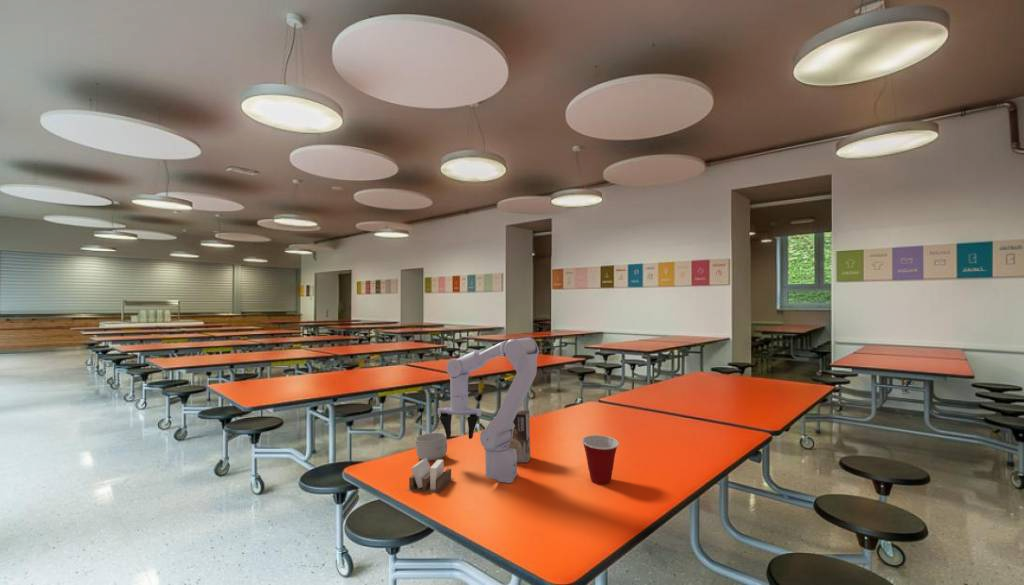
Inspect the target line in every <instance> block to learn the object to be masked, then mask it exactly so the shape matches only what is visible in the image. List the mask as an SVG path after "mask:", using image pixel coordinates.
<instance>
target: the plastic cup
mask: <svg viewBox="0 0 1024 585" xmlns="http://www.w3.org/2000/svg"><path fill="white" fill-rule="evenodd" d="M581 442H582V445H583V447H584V452H585V455H586V462H587V467H588V472H589V476H590V481H591V483H593V484H596V485H597V484H598V485H608V484H611V481H612V476H613V470H614V464H615V463H614V462H615V458H616V457H615V456H616V452H617V448H618V446H620V445H619V444H620V442H619V440H617V439H616V438H614V437H611V436H607V435H602V434H591V435H585V436H584V437H583V438H581Z"/></svg>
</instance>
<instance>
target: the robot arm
mask: <svg viewBox="0 0 1024 585" xmlns="http://www.w3.org/2000/svg"><path fill="white" fill-rule="evenodd" d="M539 353H540V350H539V346H538V344H537V342H536V340H535V339H534V338H533V337H529V336H528V337H527V336H526V337H521V338H510V339H508V340H504V341H501V342H499V343H497V344H494V345H493V346H490V347H489V348H487V349H485V350H479V349H471V350H469V353H467V354H465V355H464V354H460V356H459V358H451V359H450V360H449V361H448V362H447V363H446V368H445V370H446V373H447V374H448V376H450V378H449V379H450V381H449V382H450V384H449V385H450V387H449V388H450V389H449V390H450V397H449V398H450V406H448V407H439V408H437V415H439V416H438V417H439V421H440V422H441V424H442V426H443V429H444V433H445V434H446V437H447V438H451V436H452V426H451V425H452V417H453V416H455V415H456V416H468V417H467V419H466V420H467V425H468V427H467V428H468V439H469V440H471V439H473V437H474V432H475V428H476V425H477V423H478V421H479V420H478V419H479V418H480V417H481V416H482V408H475V407H469V382H468V381H469V378H470V373H471V372H474V371H476V370H478V369H481V368H483V367H485V365H486V363H487V361H489V360H490V361H491V360H493V359H495V358H498V357H501V356H502V357H506V358H507V359H508V362H509V363H510V364H511V366H512V367H513V369H514V370H515V372H516V374H515V376H514V378H513V380H512V383H511V384H510V386H509V389H508V391H507V392H506V395H505V397H504V399H503V401H502V403H501V406H500V408H499V409H498V411H497V413H496V415H495V417H494V418H493V419H492V420H490V422H489V423H488V424H487V426H486V427H485V428H484V429H483V430H482V431H481V432H480V435H479V436H480V437H479V439H480V444H481V446H482V447H483V450H485V451H484V452H485V454H484V455H485V456H484V457H485V477H486V478H487V479H491V480H496V482H497V483H508V484H511V483H512V484H513V482H514V480H515V478H516V477H517V475H518V473H519V472H518V462H517V452H516V449H514V448H510V447H509V442H510V441H511V439H512V437H513V429H514V427H515V425H514V423H513V421H514V419H515V417H516V415H517V413H518V411H519V410H520V408H521V406H522V405H523V402H524V400H525V398H526V396H527V395H528V392H529V390H530V388H531V386H532V384H533V383H534V380H535V378H536V376H537V373H538V371H537V370H538V364H537V363H538V356H539Z"/></svg>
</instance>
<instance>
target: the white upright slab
mask: <svg viewBox="0 0 1024 585" xmlns="http://www.w3.org/2000/svg"><path fill="white" fill-rule="evenodd" d="M444 469H445V468H444V459H440V460H435V462H434V463H433V464H432V465H430V490H436V479H437V478H438V477H439V476H440V475H441V474H442V473H444V472H445V471H444Z"/></svg>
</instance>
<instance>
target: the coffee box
mask: <svg viewBox="0 0 1024 585" xmlns="http://www.w3.org/2000/svg"><path fill="white" fill-rule="evenodd" d="M513 423H514V425H515V427H514V429H513V437H512V439H511V441H510V442H509V447H510V448H514V449H516V452H517V463H523V464H525V463H529V461H530V459H531V458H532V457H531V434H530V433H531V430H530V428H531V427H530V426H531V425H530V410H522V409H521V410H520V409H519V411H518V413H517V415H516V417H515V419H514V421H513Z"/></svg>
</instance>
